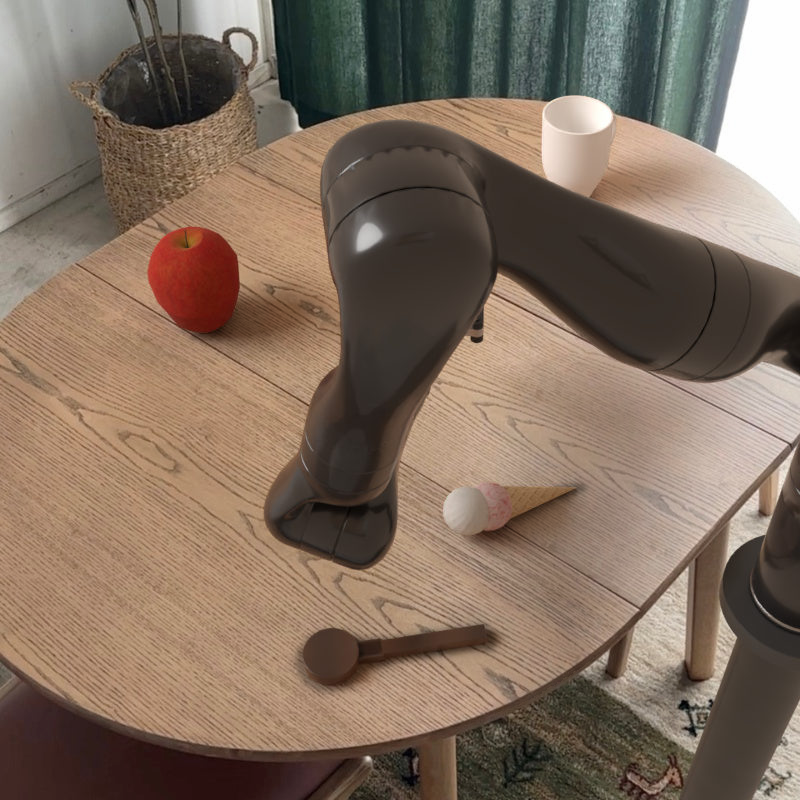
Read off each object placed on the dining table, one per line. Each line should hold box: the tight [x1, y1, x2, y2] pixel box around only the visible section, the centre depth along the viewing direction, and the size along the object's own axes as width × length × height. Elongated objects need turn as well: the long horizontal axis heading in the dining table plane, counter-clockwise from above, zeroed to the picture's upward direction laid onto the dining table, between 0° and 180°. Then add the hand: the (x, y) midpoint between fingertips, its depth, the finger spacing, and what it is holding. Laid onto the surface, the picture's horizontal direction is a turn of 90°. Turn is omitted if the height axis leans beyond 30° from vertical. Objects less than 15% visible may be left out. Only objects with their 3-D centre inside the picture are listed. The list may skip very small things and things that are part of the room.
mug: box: [541, 95, 618, 198], centre depth 138 cm, size 12×9×12 cm
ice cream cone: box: [442, 481, 578, 536], centre depth 104 cm, size 5×5×15 cm
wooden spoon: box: [302, 623, 488, 687], centre depth 95 cm, size 16×5×1 cm, turn 99°
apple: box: [146, 226, 241, 334], centre depth 122 cm, size 10×10×14 cm
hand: (438, 256), depth 106 cm, fingers closed on beverage can, 5 cm apart
